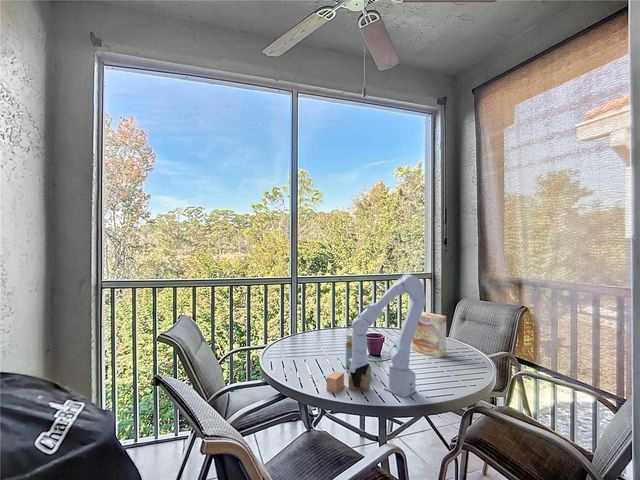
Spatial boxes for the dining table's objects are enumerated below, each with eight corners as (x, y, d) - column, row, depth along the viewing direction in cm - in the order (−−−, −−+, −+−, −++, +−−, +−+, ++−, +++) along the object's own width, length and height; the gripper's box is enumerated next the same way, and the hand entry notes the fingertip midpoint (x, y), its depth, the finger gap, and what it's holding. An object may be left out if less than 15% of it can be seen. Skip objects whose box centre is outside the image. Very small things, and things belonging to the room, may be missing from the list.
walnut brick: (369, 388, 130) (369, 375, 130) (365, 392, 126) (365, 379, 126) (352, 384, 133) (352, 372, 133) (348, 388, 130) (348, 375, 130)
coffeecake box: (412, 350, 174) (412, 312, 174) (419, 347, 179) (420, 310, 179) (438, 358, 163) (439, 317, 163) (446, 354, 168) (446, 315, 168)
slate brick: (363, 375, 143) (363, 363, 143) (370, 378, 140) (371, 366, 140) (352, 379, 138) (352, 367, 138) (359, 382, 135) (359, 370, 135)
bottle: (363, 366, 152) (364, 333, 151) (357, 372, 145) (357, 337, 145) (349, 363, 155) (350, 331, 155) (343, 368, 149) (343, 334, 149)
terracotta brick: (334, 383, 134) (334, 370, 134) (343, 385, 132) (343, 372, 132) (326, 390, 128) (326, 377, 128) (336, 392, 126) (336, 379, 126)
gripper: (356, 342, 138) (356, 375, 138) (341, 353, 125) (341, 389, 125) (373, 345, 135) (373, 379, 135) (359, 356, 122) (359, 394, 122)
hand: (359, 384), depth 130 cm, fingers closed on walnut brick, 4 cm apart
